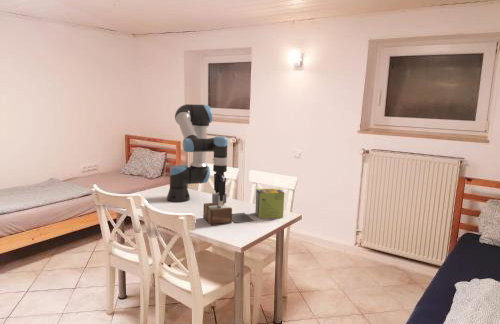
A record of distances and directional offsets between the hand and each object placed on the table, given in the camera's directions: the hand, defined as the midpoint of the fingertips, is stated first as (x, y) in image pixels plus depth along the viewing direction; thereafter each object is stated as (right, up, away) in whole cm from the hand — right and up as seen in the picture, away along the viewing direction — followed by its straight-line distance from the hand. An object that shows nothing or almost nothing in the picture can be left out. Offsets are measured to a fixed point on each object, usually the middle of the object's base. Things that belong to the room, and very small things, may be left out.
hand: (219, 204), depth 200 cm
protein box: (+29, -8, +14) cm, 33 cm away
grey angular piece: (0, -3, 0) cm, 3 cm away
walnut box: (-1, -9, +1) cm, 9 cm away
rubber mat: (+12, -9, +7) cm, 16 cm away
